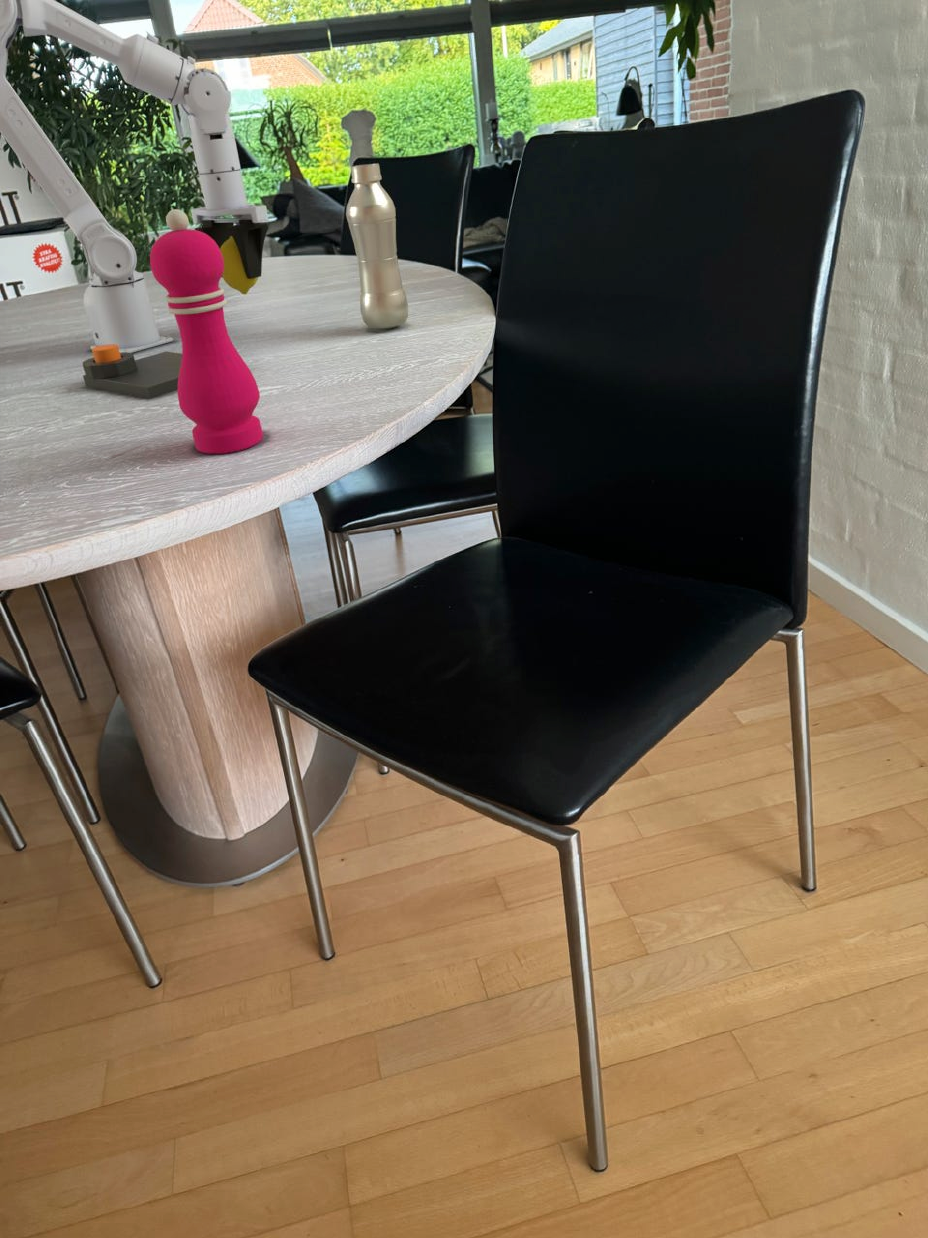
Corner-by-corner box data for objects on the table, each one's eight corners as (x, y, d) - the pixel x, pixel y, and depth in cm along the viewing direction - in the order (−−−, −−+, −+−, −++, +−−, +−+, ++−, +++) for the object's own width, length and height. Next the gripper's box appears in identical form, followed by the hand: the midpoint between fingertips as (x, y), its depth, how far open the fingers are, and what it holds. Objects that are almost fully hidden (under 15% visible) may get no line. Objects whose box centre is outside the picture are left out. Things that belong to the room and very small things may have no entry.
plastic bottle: (420, 323, 120) (401, 160, 110) (391, 334, 115) (368, 166, 105) (383, 321, 123) (361, 163, 113) (353, 332, 119) (328, 169, 109)
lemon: (254, 297, 124) (242, 236, 120) (219, 299, 125) (206, 239, 121) (269, 289, 129) (258, 231, 125) (235, 291, 130) (223, 233, 126)
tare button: (91, 363, 105) (86, 349, 104) (113, 357, 107) (108, 343, 106) (104, 366, 103) (100, 351, 102) (126, 359, 105) (122, 344, 104)
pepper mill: (198, 434, 84) (141, 209, 74) (272, 426, 85) (225, 200, 74) (184, 460, 78) (119, 218, 68) (264, 450, 78) (211, 208, 68)
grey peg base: (81, 387, 106) (73, 362, 104) (166, 361, 114) (160, 338, 112) (147, 400, 98) (140, 373, 96) (235, 371, 106) (229, 346, 104)
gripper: (276, 166, 117) (295, 272, 124) (211, 171, 126) (232, 270, 133) (235, 172, 113) (257, 282, 120) (170, 176, 121) (194, 279, 128)
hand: (241, 276), depth 126 cm, fingers closed on lemon, 5 cm apart
